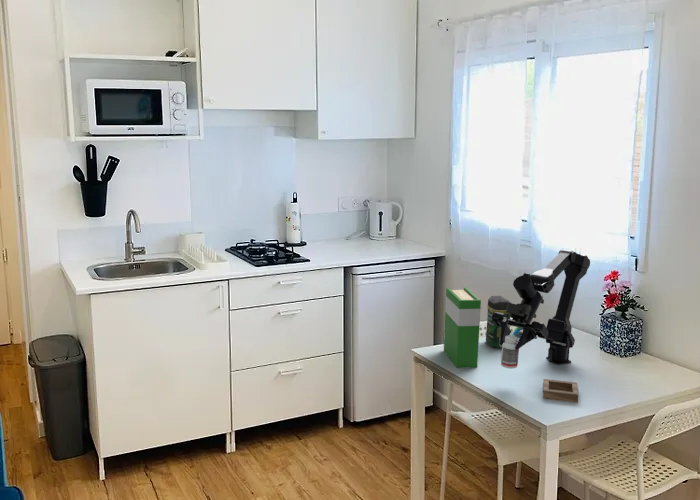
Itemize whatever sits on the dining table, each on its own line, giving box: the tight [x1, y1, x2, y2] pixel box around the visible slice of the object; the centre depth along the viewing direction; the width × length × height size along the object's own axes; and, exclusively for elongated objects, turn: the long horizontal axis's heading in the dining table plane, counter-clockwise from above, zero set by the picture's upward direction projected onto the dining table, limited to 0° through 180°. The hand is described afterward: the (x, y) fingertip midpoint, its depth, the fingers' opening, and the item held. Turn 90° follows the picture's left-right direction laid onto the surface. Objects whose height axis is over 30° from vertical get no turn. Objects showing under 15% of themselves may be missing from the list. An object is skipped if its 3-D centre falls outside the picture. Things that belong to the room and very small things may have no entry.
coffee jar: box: [485, 295, 512, 349], centre depth 272 cm, size 10×8×19 cm
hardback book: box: [443, 287, 482, 369], centre depth 256 cm, size 18×7×24 cm, turn 7°
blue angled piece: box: [513, 327, 523, 336], centre depth 287 cm, size 11×6×10 cm
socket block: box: [542, 378, 579, 404], centre depth 227 cm, size 10×10×3 cm
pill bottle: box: [500, 334, 520, 370], centre depth 232 cm, size 5×5×10 cm
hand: (508, 347), depth 231 cm, fingers closed on pill bottle, 5 cm apart
